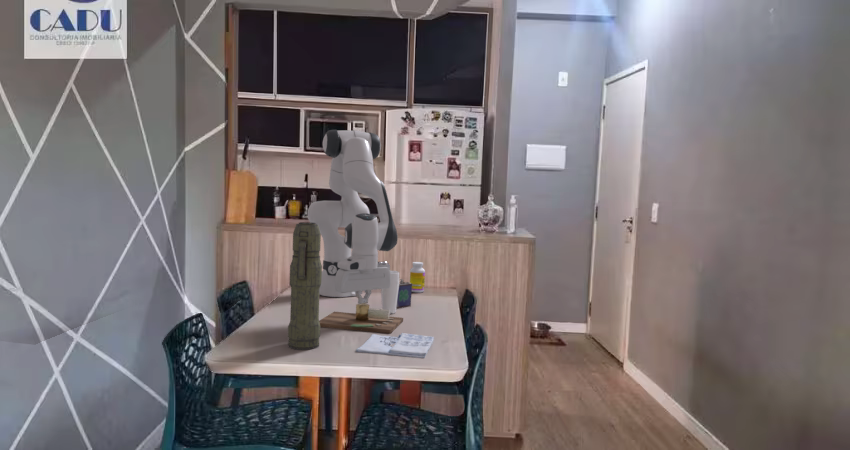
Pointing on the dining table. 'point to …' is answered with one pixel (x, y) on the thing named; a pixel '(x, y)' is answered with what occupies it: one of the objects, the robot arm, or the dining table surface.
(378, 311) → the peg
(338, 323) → the dial board
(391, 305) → the drinking glass
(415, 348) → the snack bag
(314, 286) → the thermos
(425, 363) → the dining table surface
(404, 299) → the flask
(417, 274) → the supplement bottle
